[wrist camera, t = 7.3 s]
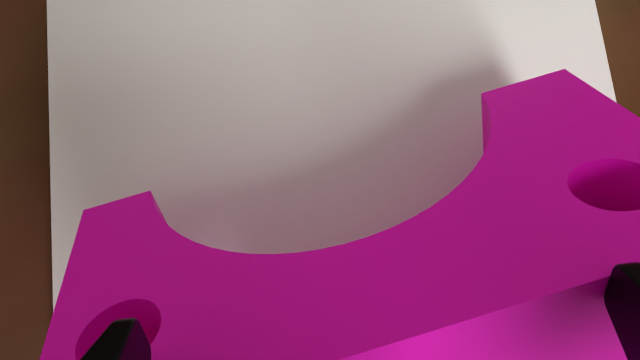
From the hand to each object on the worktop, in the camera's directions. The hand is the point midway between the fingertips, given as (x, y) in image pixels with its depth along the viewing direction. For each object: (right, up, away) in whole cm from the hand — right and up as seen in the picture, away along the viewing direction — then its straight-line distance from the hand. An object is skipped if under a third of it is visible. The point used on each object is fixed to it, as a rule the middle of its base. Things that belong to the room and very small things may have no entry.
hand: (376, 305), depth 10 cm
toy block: (+1, -3, +1) cm, 4 cm away
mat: (-1, +5, +9) cm, 11 cm away
